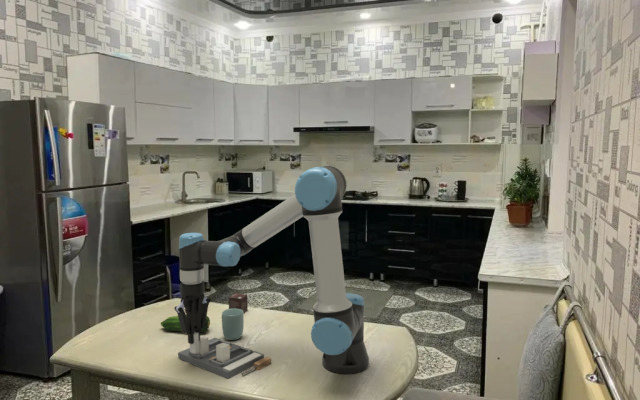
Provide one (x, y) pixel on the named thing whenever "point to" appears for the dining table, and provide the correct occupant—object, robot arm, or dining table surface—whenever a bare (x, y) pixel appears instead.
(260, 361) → the screwdriver
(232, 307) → the box
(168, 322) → the vegetable
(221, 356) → the tab
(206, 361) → the switch board
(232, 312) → the cup
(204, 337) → the tab
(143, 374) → the dining table surface
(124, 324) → the dining table surface
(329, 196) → the robot arm
